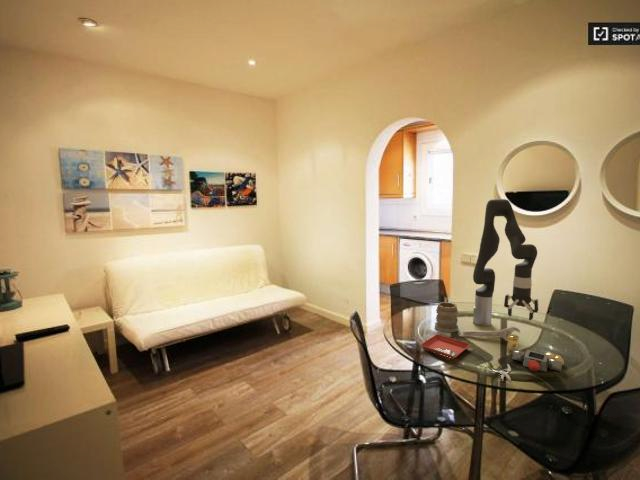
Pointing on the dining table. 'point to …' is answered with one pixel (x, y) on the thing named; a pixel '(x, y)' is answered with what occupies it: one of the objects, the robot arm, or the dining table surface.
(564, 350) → the dining table surface
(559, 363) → the valve body
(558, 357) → the brass elbow
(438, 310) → the tankard
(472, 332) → the wrench
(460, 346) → the plant saucer
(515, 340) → the brass knob
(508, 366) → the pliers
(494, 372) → the dining table surface
